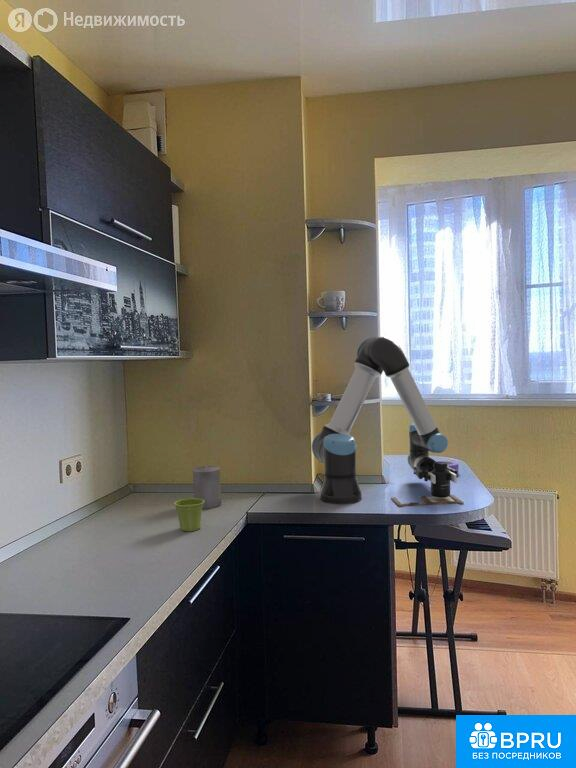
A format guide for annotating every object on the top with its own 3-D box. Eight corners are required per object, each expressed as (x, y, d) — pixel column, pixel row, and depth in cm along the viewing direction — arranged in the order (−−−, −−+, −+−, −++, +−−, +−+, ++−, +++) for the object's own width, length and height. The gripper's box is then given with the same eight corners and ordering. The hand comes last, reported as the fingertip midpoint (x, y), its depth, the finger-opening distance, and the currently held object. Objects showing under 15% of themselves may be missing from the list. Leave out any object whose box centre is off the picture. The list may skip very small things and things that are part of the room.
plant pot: (173, 526, 186) (171, 500, 186) (201, 523, 190) (200, 496, 189) (178, 535, 178) (176, 507, 177) (208, 530, 181) (207, 503, 180)
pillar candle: (206, 500, 218) (204, 461, 217) (226, 503, 213) (224, 463, 212) (189, 507, 210) (186, 466, 209) (210, 510, 205) (208, 468, 204)
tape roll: (456, 471, 257) (456, 460, 257) (460, 477, 246) (460, 465, 245) (429, 471, 259) (428, 460, 259) (431, 477, 247) (431, 465, 247)
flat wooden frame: (398, 507, 201) (398, 504, 201) (391, 499, 212) (391, 496, 212) (463, 504, 202) (463, 501, 202) (453, 496, 213) (453, 493, 213)
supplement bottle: (446, 498, 204) (445, 465, 203) (427, 496, 208) (427, 463, 207) (453, 494, 209) (452, 461, 209) (435, 492, 213) (434, 460, 213)
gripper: (451, 475, 227) (472, 488, 204) (401, 477, 226) (417, 491, 203) (450, 456, 226) (472, 467, 203) (401, 458, 225) (417, 469, 202)
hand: (444, 479), depth 203 cm, fingers closed on supplement bottle, 7 cm apart
